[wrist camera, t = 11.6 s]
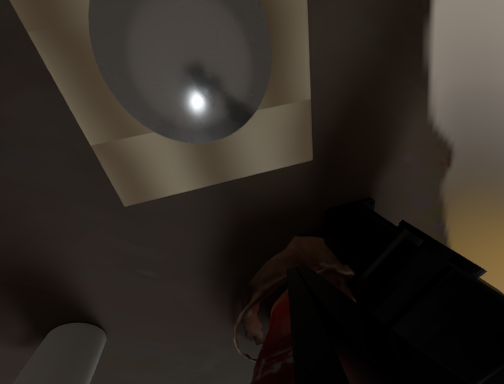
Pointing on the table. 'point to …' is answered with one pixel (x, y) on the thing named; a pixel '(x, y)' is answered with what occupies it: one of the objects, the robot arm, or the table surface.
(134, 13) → the pin
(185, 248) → the table surface
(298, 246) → the stew
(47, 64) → the hitch block
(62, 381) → the mug
